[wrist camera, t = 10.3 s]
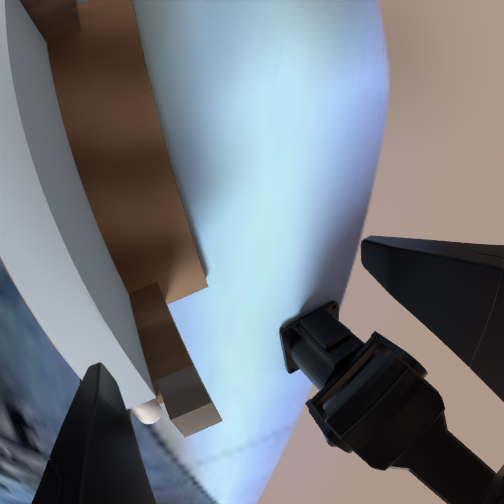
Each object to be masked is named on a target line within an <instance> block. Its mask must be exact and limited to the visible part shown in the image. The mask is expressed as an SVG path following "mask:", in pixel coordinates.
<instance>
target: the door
mask: <svg viewBox="0 0 504 504" xmlns="http://www.w3.org/2000/svg"><path fill="white" fill-rule="evenodd" d="M0 256H1V258H2V260H3V262H4V264H5V266H6V268H7V270H8V272H9V274H10V276H11V277H12V279H13V281H14V283H15V285H16V286H17V288H18V290H19V292H20V293H21V295H22V297H23V298H24V300H25V302H26V303H27V305H28V307H29V308H30V310H31V311H32V313H33V315H34V316H35V318H36V319H37V321H38V322H39V324H40V325H41V327H42V328H43V330H44V331H45V333H46V334H47V335H48V337H49V338H50V340H51V341H52V342H53V344H54V345H55V347H56V348H57V349H58V351H59V352H60V353H61V355H62V356H63V357H64V359H65V360H66V361H67V362H68V364H69V365H70V366H71V368H72V369H73V370H74V371H75V373H76V374H77V375H78V376H79V377H80V379H81V380H82V379H83V377H84V375H85V373H86V371H87V369H88V367H89V366H91V365H93V364H96V363H98V362H101V363H102V364H104V366H105V367H106V368H107V370H108V371H109V372H110V373H111V375H112V376H113V377H114V379H115V380H116V382H117V384H118V386H119V389H120V392H121V395H122V398H123V401H124V404H125V407H126V409H130V410H131V411H132V412H133V413H134V414H135V415H136V416H137V417H138V419H139V420H140V421H141V422H143V423H145V424H152V423H155V422H156V421H158V420H159V419H160V417H161V415H162V408H161V407H160V405H159V404H158V403H157V401H156V400H155V398H156V395H155V391H154V388H153V385H152V382H151V379H150V375H149V372H148V369H147V365H146V362H145V358H144V355H143V351H142V347H141V344H140V340H139V336H138V332H137V328H136V324H135V320H134V315H133V311H132V307H131V302H130V298H129V294H128V292H127V290H126V288H125V286H124V284H123V282H122V280H121V278H120V276H119V273H118V271H117V269H116V267H115V265H114V263H113V260H112V258H111V256H110V254H109V251H108V249H107V247H106V244H105V242H104V240H103V237H102V235H101V232H100V230H99V228H98V225H97V223H96V220H95V217H94V215H93V212H92V210H91V207H90V204H89V202H88V199H87V196H86V194H85V191H84V188H83V185H82V182H81V179H80V176H79V173H78V170H77V167H76V164H75V161H74V158H73V155H72V152H71V148H70V145H69V142H68V138H67V135H66V131H65V127H64V124H63V120H62V116H61V112H60V108H59V104H58V100H57V96H56V91H55V87H54V82H53V77H52V72H51V67H50V61H49V55H48V49H47V43H46V41H45V40H44V38H43V37H42V35H41V34H40V32H39V31H38V29H37V27H36V26H35V24H34V23H33V21H32V20H31V18H30V17H29V15H28V13H27V12H26V10H25V9H24V7H23V5H22V4H21V2H20V1H19V0H0Z"/></svg>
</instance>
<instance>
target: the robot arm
mask: <svg viewBox="0 0 504 504" xmlns="http://www.w3.org/2000/svg"><path fill="white" fill-rule="evenodd" d="M361 261H362V264H363V266H364V268H365V269H366V270H367V271H368V272H369V273H370V274H371V275H372V276H373V277H374V278H375V279H376V280H377V281H378V282H379V283H380V284H381V285H382V286H383V287H384V289H385V290H386V291H387V292H388V293H389V294H390V295H392V296H393V297H394V298H395V299H396V300H397V301H398V302H399V303H400V304H401V305H403V306H404V307H405V308H406V309H407V310H408V311H409V312H410V313H412V314H413V315H414V316H415V317H416V318H417V319H418V320H419V321H420V322H422V323H423V324H424V325H425V326H426V327H427V328H428V329H429V330H430V331H431V332H433V333H434V334H435V335H436V336H437V337H438V338H439V339H440V340H441V341H442V342H443V343H444V344H445V345H446V346H448V347H449V348H450V349H451V350H452V351H453V352H454V353H455V354H456V355H457V356H458V357H459V358H460V359H461V360H462V361H463V362H464V363H465V364H466V365H467V366H468V367H470V369H471V370H472V371H473V372H474V373H475V374H476V375H477V376H478V377H479V378H480V379H481V380H482V381H483V382H484V383H485V384H486V385H487V386H488V387H489V388H490V389H491V390H492V391H493V392H494V393H495V394H496V395H497V396H498V397H499V398H500V399H501V400H502V401H503V402H504V245H485V244H472V243H460V242H449V241H437V240H423V239H412V238H398V237H397V238H396V237H383V236H369V237H367V238H365V239H363V240H362V241H361ZM279 334H280V340H281V345H282V350H283V355H284V360H285V366H286V370H287V372H288V373H290V374H291V373H293V372H295V371H297V370H299V369H301V371H302V372H303V373H304V374H305V375H306V376H307V377H308V378H309V380H310V381H311V382H312V383H313V384H314V385H315V386H316V387H317V388H318V389H319V390H320V391H319V392H318V393H317V394H316V395H315V396H314V397H313V398H312V399H309V400H308V401H307V402H306V403H305V404H306V405H307V407H308V408H309V413H310V414H311V415H312V417H313V418H314V420H315V421H316V423H317V424H318V425H319V427H320V429H321V430H322V432H323V434H324V436H325V438H326V441H327V443H328V444H329V445H330V446H331V447H339V448H340V449H342V450H344V451H345V452H347V453H351V452H352V451H354V452H355V453H356V454H357V455H358V456H360V457H361V458H362V459H363V460H364V461H365V462H367V463H368V465H370V467H372V468H375V469H379V470H386V469H387V468H395V469H402V470H408V471H410V472H411V473H412V474H413V475H414V476H416V477H417V478H418V479H419V480H420V481H421V482H422V483H424V484H425V485H426V486H427V487H428V488H429V489H430V490H432V491H433V492H434V493H435V494H436V495H438V496H439V497H440V498H441V499H442V500H443V501H445V502H446V503H447V504H504V465H503V466H502V467H501V469H500V470H499V471H498V473H495V472H494V471H493V470H492V469H491V468H490V467H489V466H488V465H486V464H485V463H484V462H483V461H482V460H481V459H480V458H478V457H477V456H476V455H475V454H474V453H473V452H472V451H471V450H470V449H468V448H467V447H466V446H465V445H464V444H463V443H462V442H460V441H459V440H458V439H457V438H456V437H455V436H453V434H452V433H450V432H449V431H448V429H447V424H446V420H445V415H444V410H445V407H444V403H443V400H442V397H441V396H440V394H439V392H438V391H437V390H436V389H435V388H434V387H433V386H432V385H431V384H429V383H428V382H427V381H426V380H425V379H424V378H425V376H426V375H427V374H428V373H427V371H426V370H425V368H424V367H423V366H422V365H421V364H420V363H419V362H418V361H417V360H415V359H414V358H413V357H412V356H411V355H409V354H408V353H407V352H406V351H404V350H403V349H401V348H400V347H398V346H397V345H395V344H394V343H392V342H391V341H389V340H388V339H386V338H385V337H383V336H382V335H380V334H379V333H377V332H376V331H375V332H374V333H373V334H372V335H371V338H370V339H369V340H368V341H367V342H366V343H364V342H363V341H361V340H360V339H359V338H358V337H356V336H355V335H354V334H353V333H352V332H351V331H350V329H348V328H347V327H346V326H345V325H344V324H342V323H341V322H340V321H339V308H338V303H337V302H336V301H331V302H330V303H328V304H326V305H324V306H323V307H321V308H319V309H317V310H315V311H314V312H312V313H310V314H308V315H306V316H305V317H303V318H301V319H299V320H297V321H295V322H293V323H292V324H290V325H288V326H286V327H284V328H283V329H281V331H280V333H279ZM32 504H157V503H156V500H155V498H154V495H153V492H152V489H151V486H150V483H149V480H148V477H147V474H146V471H145V468H144V464H143V461H142V458H141V454H140V451H139V447H138V443H137V440H136V436H135V432H134V429H133V426H132V423H131V421H130V418H129V415H128V412H127V410H126V407H125V404H124V401H123V398H122V395H121V392H120V389H119V386H118V384H117V382H116V380H115V379H114V377H113V376H112V375H111V373H110V372H109V371H108V370H107V368H106V367H105V366H104V364H102V363H101V362H98V363H96V364H93V365H91V366H89V367H88V369H87V371H86V373H85V375H84V377H83V379H82V381H81V384H80V386H79V388H78V390H77V392H76V394H75V397H74V399H73V401H72V403H71V406H70V408H69V410H68V413H67V415H66V417H65V420H64V422H63V424H62V427H61V429H60V432H59V434H58V437H57V439H56V442H55V444H54V447H53V449H52V452H51V455H50V460H48V463H47V465H46V468H45V471H44V474H43V476H42V479H41V482H40V484H39V487H38V489H37V492H36V494H35V496H34V499H33V501H32Z"/></svg>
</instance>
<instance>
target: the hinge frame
mask: <svg viewBox="0 0 504 504" xmlns="http://www.w3.org/2000/svg"><path fill="white" fill-rule="evenodd" d="M19 1H20V2H21V4H22V5H23V7H24V9H25V10H26V12H27V13H28V15H29V17H30V18H31V20H32V21H33V23H34V24H35V26H36V27H37V29H38V31H39V32H40V34H41V35H42V37H43V38H44V40H45V41H46V43H47V49H48V55H49V61H50V67H51V72H52V77H53V82H54V87H55V91H56V96H57V100H58V104H59V108H60V112H61V116H62V120H63V124H64V127H65V131H66V135H67V138H68V142H69V145H70V148H71V152H72V155H73V158H74V161H75V164H76V167H77V170H78V173H79V176H80V179H81V182H82V185H83V188H84V191H85V194H86V196H87V199H88V202H89V204H90V207H91V210H92V212H93V215H94V217H95V220H96V223H97V225H98V228H99V230H100V232H101V235H102V237H103V240H104V242H105V244H106V247H107V249H108V251H109V254H110V256H111V258H112V260H113V263H114V265H115V267H116V269H117V271H118V273H119V276H120V278H121V280H122V282H123V284H124V286H125V288H126V290H127V292H128V294H129V298H130V302H131V307H132V311H133V315H134V320H135V324H136V328H137V332H138V336H139V340H140V344H141V347H142V351H143V355H144V358H145V362H146V365H147V369H148V372H149V375H150V379H151V382H152V385H153V388H154V391H155V395H156V398H155V400H156V401H157V403H158V404H161V403H163V402H164V404H165V407H166V410H167V412H168V415H169V418H170V420H171V421H172V423H173V424H174V425H175V426H176V427H177V428H178V430H179V431H180V432H181V433H182V434H183V435H184V437H187V436H189V435H192V434H194V433H196V432H199V431H201V430H203V429H206V428H208V427H210V426H212V425H215V424H217V423H219V422H221V421H223V420H222V419H221V417H220V415H219V413H218V411H217V409H216V407H215V405H214V404H213V402H212V400H211V398H210V396H209V394H208V392H207V390H206V388H205V386H204V384H203V382H202V380H201V378H200V376H199V374H198V372H197V370H196V368H195V366H194V364H193V362H192V360H191V357H190V355H189V353H188V351H187V349H186V347H185V345H184V342H183V340H182V338H181V336H180V334H179V331H178V329H177V327H176V324H175V322H174V320H173V318H172V315H171V313H170V311H169V308H168V306H167V304H169V303H172V302H174V301H176V300H179V299H181V298H183V297H186V296H188V295H190V294H192V293H195V292H197V291H199V290H202V289H204V288H206V287H208V284H207V281H206V278H205V275H204V272H203V269H202V266H201V263H200V260H199V257H198V254H197V251H196V248H195V244H194V241H193V238H192V235H191V232H190V228H189V225H188V222H187V219H186V215H185V212H184V209H183V205H182V202H181V199H180V195H179V192H178V188H177V185H176V181H175V178H174V174H173V171H172V167H171V164H170V160H169V156H168V153H167V149H166V145H165V141H164V138H163V134H162V130H161V126H160V122H159V118H158V114H157V110H156V106H155V102H154V98H153V94H152V90H151V86H150V82H149V77H148V73H147V69H146V64H145V60H144V55H143V50H142V46H141V41H140V36H139V31H138V26H137V21H136V16H135V11H134V5H133V0H91V1H88V2H85V3H82V4H79V5H78V4H77V0H19ZM0 258H1V256H0ZM1 260H2V258H1ZM2 262H3V260H2ZM3 264H4V262H3ZM4 266H5V264H4ZM5 268H6V266H5ZM6 270H7V268H6ZM7 272H8V270H7ZM8 274H9V272H8ZM9 276H10V274H9ZM10 277H11V276H10ZM11 279H12V277H11ZM12 281H13V279H12ZM13 283H14V281H13ZM14 285H15V283H14ZM15 286H16V285H15ZM16 288H17V286H16ZM17 290H18V288H17ZM18 292H19V290H18ZM19 293H20V292H19ZM20 295H21V293H20ZM21 297H22V295H21ZM22 298H23V297H22ZM23 300H24V298H23ZM24 302H25V300H24ZM25 303H26V302H25ZM26 305H27V303H26ZM27 307H28V305H27ZM28 308H29V307H28ZM29 310H30V308H29ZM30 311H31V310H30ZM31 313H32V311H31ZM32 314H33V313H32ZM33 316H34V315H33ZM34 318H35V316H34ZM35 319H36V318H35ZM36 321H37V319H36ZM37 322H38V321H37ZM38 324H39V322H38ZM39 325H40V324H39ZM40 327H41V325H40ZM41 328H42V327H41ZM42 330H43V328H42ZM43 331H44V330H43ZM44 333H45V331H44ZM45 334H46V333H45ZM46 335H47V334H46ZM47 337H48V335H47ZM48 338H49V337H48ZM49 340H50V338H49ZM50 341H51V340H50ZM51 342H52V341H51ZM52 344H53V342H52ZM53 345H54V344H53ZM54 347H55V345H54ZM55 348H56V347H55ZM56 349H57V348H56ZM57 351H58V349H57ZM81 381H82V380H81V379H80V384H81ZM126 410H127V412H128V415H129V418H130V421H131V417H130V415H133V414H134V413H133V412H132V411H131V410H130V409H126ZM131 423H132V421H131ZM132 426H133V425H132ZM133 429H134V428H133ZM136 440H137V439H136ZM138 447H139V446H138ZM139 451H140V450H139ZM140 454H141V453H140Z"/></svg>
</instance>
